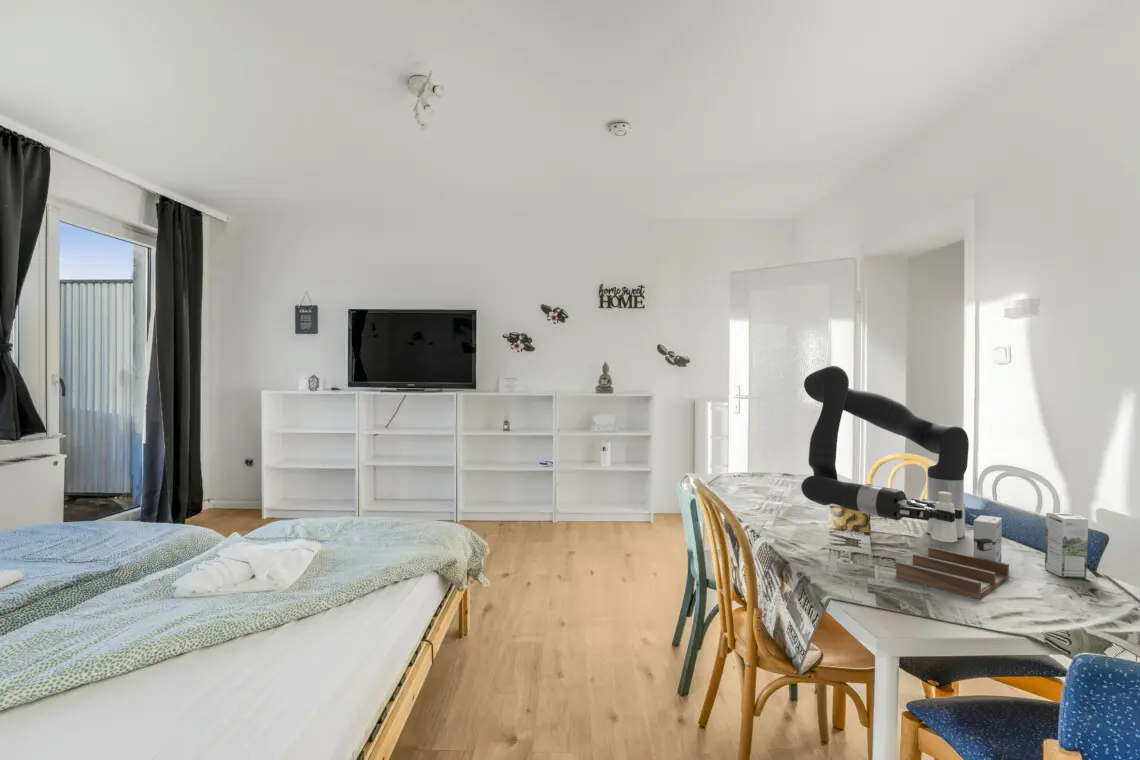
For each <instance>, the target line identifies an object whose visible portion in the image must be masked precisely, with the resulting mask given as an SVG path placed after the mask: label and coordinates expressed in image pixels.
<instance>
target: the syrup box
mask: <svg viewBox="0 0 1140 760" xmlns="http://www.w3.org/2000/svg"><path fill="white" fill-rule="evenodd" d="M1088 534H1089V520H1088V519H1087V518H1086V517H1083V516H1081V515H1078V514H1075V513H1069V512H1068V513H1065V512H1064V513H1063V512H1062V513H1061V512H1046V513H1045V539H1044V540H1045V544H1044V545H1045V546H1044V548H1045V549H1044V550H1045V551H1044V570H1046V571H1047V570H1048V571H1047V572H1050V573H1052V574H1054V575H1056V576H1058V577H1060V576H1061V578H1074V577H1075V578H1077V579H1078V578H1080V579H1086V578H1087V569H1088V568H1087V566H1088V541H1089V540H1088V538H1089V537H1088V536H1089V535H1088Z"/></svg>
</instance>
